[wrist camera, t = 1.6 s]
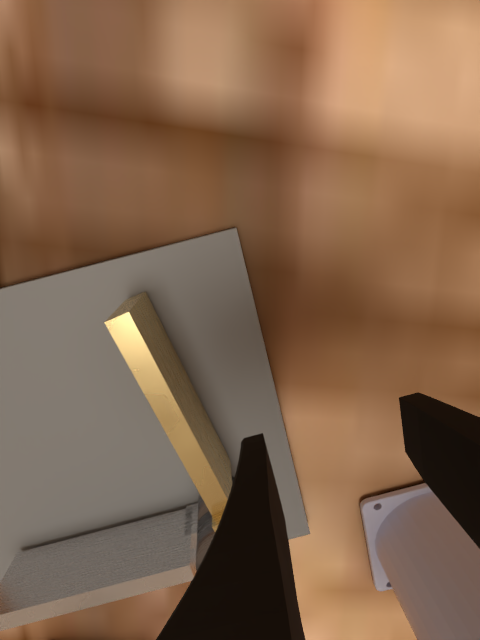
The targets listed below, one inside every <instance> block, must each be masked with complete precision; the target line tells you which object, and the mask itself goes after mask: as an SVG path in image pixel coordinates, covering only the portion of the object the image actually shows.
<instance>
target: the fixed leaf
mask: <svg viewBox="0 0 480 640" xmlns="http://www.w3.org/2000/svg"><path fill="white" fill-rule="evenodd" d="M233 480H234V477H233V476H232V484H233ZM208 511H209V510H208V508H207V506H206V504H205V503H204V501H203V499H202V497H201V495H200V494H199V497H198V503H195V504H191V505H187V506H186V509H182V510H179V511H175V512H171V513H167V514H163V515H159V516H156V517H152V518H148V519H144V520H140V521H137V522H133V523H129V524H125V525H121V526H117V527H114V528H110V529H106V530H102V531H98V532H95V533H91V534H87V535H83V536H79V537H75V538H72V539H68V540H64V541H60V542H56V543H53V544H49V545H45V546H41V547H37V548H33V549H30V550H26V551H22V552H18V553H17V554H16V556H15V557H14V559H13V561H12V563H11V564H10V566H9V568H8V570H7V571H6V573H5V575H4V577H3V578H2V580H1V582H0V631H2V630H6V629H10V628H13V627H17V626H21V625H25V624H29V623H32V622H36V621H40V620H44V619H48V618H51V617H55V616H59V615H63V614H67V613H70V612H74V611H78V610H82V609H86V608H90V607H93V606H97V605H101V604H105V603H109V602H112V601H116V600H120V599H124V598H128V597H131V596H135V595H139V594H143V593H147V592H150V591H154V590H158V589H162V588H166V587H170V586H173V585H177V584H181V583H185V582H189V581H192V580H193V578H194V576H195V572H196V545H197V525H198V522H199V520H200V518H201V517H202V516H203V515H204V514H205V513H207V512H208Z"/></svg>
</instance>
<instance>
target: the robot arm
mask: <svg viewBox="0 0 480 640" xmlns="http://www.w3.org/2000/svg"><path fill="white" fill-rule="evenodd" d="M399 402H400V410H401V419H402V427H403V435H404V444H405V452H406V453H407V455H408V457H409V458H410V460H411V461H412V463H413V465H414V466H415V468H416V469H417V471H418V472H419V474H420V475H421V477H422V478H423V480H424V482H425V483H423V484H419V485H415V486H412V487H408V488H404V489H400V490H396V491H392V492H389V493H385V494H381V495H377V496H373V497H370V498H366V499H364V500H363V501H362V502H361V503H360V509H361V515H362V521H363V526H364V532H365V538H366V543H367V549H368V555H369V560H370V566H371V571H372V577H373V583H374V585H375V588H376V589H377V590H378V591H385V590H389V589H393V590H394V592H395V594H396V596H397V599H398V601H399V603H400V605H401V607H402V609H403V611H404V613H405V615H406V617H407V619H408V621H409V623H410V625H411V628H412V630H413V632H414V634H415V636H416V638H417V640H480V417H477V416H475V415H472V414H470V413H468V412H465V411H463V410H460V409H458V408H456V407H453V406H451V405H448V404H446V403H444V402H441V401H439V400H436V399H434V398H431V397H429V396H426V395H424V394H421V393H414V394H411V395H407V396H403V397H399ZM375 504H376V505H375ZM156 640H305V636H304V632H303V627H302V623H301V618H300V612H299V607H298V602H297V595H296V589H295V582H294V575H293V569H292V562H291V555H290V549H289V542H288V535H287V529H286V522H285V517H284V513H283V508H282V504H281V500H280V496H279V492H278V488H277V484H276V480H275V477H274V473H273V469H272V465H271V462H270V458H269V454H268V450H267V447H266V443H265V439H264V435H263V433H261V434H258V435H254V436H250V437H246V438H244V439H243V440H242V442H241V449H240V455H239V461H238V465H237V469H236V473H235V477H234V480H233V484H232V488H231V491H230V494H229V497H228V500H227V503H226V506H225V509H224V511H223V514H222V517H221V520H220V522H219V525H218V527H217V530H216V532H215V534H214V537H213V539H212V541H211V543H210V546H209V548H208V550H207V552H206V554H205V556H204V558H203V560H202V562H201V564H200V566H199V568H198V570H197V572H196V574H195V576H194V578H193V580H192V581H191V583H190V585H189V587H188V589H187V590H186V592H185V594H184V596H183V597H182V599H181V600H180V602H179V604H178V605H177V607H176V609H175V610H174V612H173V613H172V615H171V617H170V618H169V620H168V622H167V623H166V625H165V627H164V628H163V630H162V631H161V633H160V634H159V636H158V637H157V639H156Z"/></svg>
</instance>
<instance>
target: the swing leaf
mask: <svg viewBox="0 0 480 640" xmlns="http://www.w3.org/2000/svg"><path fill="white" fill-rule="evenodd" d="M104 323H105V325H106V327H107V328H108V330H109V332H110V334H111V336H112V337H113V339H114V341H115V343H116V345H117V346H118V348H119V350H120V352H121V353H122V355H123V357H124V359H125V361H126V362H127V364H128V366H129V368H130V370H131V371H132V373H133V375H134V377H135V379H136V380H137V382H138V384H139V386H140V388H141V389H142V391H143V393H144V395H145V397H146V398H147V400H148V402H149V404H150V406H151V407H152V409H153V411H154V413H155V415H156V416H157V418H158V420H159V422H160V424H161V425H162V427H163V429H164V431H165V433H166V434H167V436H168V438H169V440H170V441H171V443H172V445H173V447H174V449H175V450H176V452H177V454H178V456H179V458H180V459H181V461H182V463H183V465H184V467H185V468H186V470H187V472H188V474H189V476H190V477H191V479H192V481H193V483H194V485H195V486H196V488H197V490H198V492H199V494H200V495H201V497H202V499H203V501H204V503H205V504H206V506H207V508H208V510H209V511H208V512H207V513H205V514H204V515H203V516H202V517H201V518H200V520H199V522H198V525H197V545H196V570H198V568H199V566H200V564H201V562H202V560H203V558H204V556H205V554H206V552H207V550H208V548H209V546H210V543H211V541H212V539H213V537H214V534H215V532H216V530H217V527H218V525H219V522H220V520H221V517H222V514H223V511H224V509H225V506H226V503H227V500H228V497H229V494H230V491H231V488H232V474H231V461H230V459H229V457H228V455H227V453H226V451H225V449H224V447H223V445H222V443H221V441H220V439H219V437H218V435H217V433H216V431H215V429H214V427H213V425H212V423H211V421H210V419H209V417H208V415H207V413H206V411H205V409H204V407H203V405H202V403H201V401H200V399H199V397H198V395H197V393H196V391H195V389H194V387H193V385H192V383H191V381H190V379H189V377H188V375H187V373H186V371H185V369H184V367H183V365H182V363H181V361H180V359H179V357H178V355H177V353H176V351H175V349H174V347H173V345H172V343H171V341H170V339H169V337H168V335H167V333H166V331H165V329H164V327H163V325H162V323H161V321H160V319H159V317H158V315H157V314H156V312H155V310H154V308H153V306H152V304H151V302H150V300H149V298H148V296H147V294H146V292H143V293H141V294H138V295H136V296H133V297H131V298H129V299H126V300H125V301H124V302H123V303H122V304H121V305H120V306H119V307H118V308H117V309H116V310H115V311H114V312H113V314H112V315H111V316H110V317H109V318H108V319H107V320H106V321H105V322H104Z"/></svg>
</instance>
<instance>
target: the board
mask: <svg viewBox="0 0 480 640" xmlns="http://www.w3.org/2000/svg"><path fill="white" fill-rule="evenodd" d="M143 292H146V294H147V296H148V298H149V300H150V302H151V304H152V306H153V308H154V310H155V312H156V314H157V315H158V317H159V319H160V321H161V323H162V325H163V327H164V329H165V331H166V333H167V335H168V337H169V339H170V341H171V343H172V345H173V347H174V349H175V351H176V353H177V355H178V357H179V359H180V361H181V363H182V365H183V367H184V369H185V371H186V373H187V375H188V377H189V379H190V381H191V383H192V385H193V387H194V389H195V391H196V393H197V395H198V397H199V399H200V401H201V403H202V405H203V407H204V409H205V411H206V413H207V415H208V417H209V419H210V421H211V423H212V425H213V427H214V429H215V431H216V433H217V435H218V437H219V439H220V441H221V443H222V445H223V447H224V449H225V451H226V453H227V455H228V457H229V459H230V461H231V474H232V476H233V477H235V473H236V469H237V465H238V461H239V455H240V449H241V442H242V440H243V439H244V438H246V437H250V436H254V435H258V434H261V433H263V435H264V439H265V443H266V447H267V450H268V454H269V458H270V462H271V465H272V469H273V473H274V477H275V480H276V484H277V488H278V492H279V496H280V500H281V504H282V508H283V513H284V517H285V522H286V529H287V535H288V540H289V539H293V538H296V537H300V536H304V535H308V534H310V531H309V527H308V522H307V518H306V514H305V510H304V506H303V502H302V498H301V493H300V489H299V485H298V481H297V477H296V473H295V469H294V464H293V460H292V456H291V452H290V448H289V444H288V440H287V435H286V431H285V427H284V423H283V419H282V415H281V411H280V407H279V402H278V398H277V394H276V390H275V386H274V382H273V378H272V373H271V369H270V365H269V361H268V357H267V353H266V349H265V344H264V340H263V336H262V332H261V328H260V324H259V320H258V315H257V311H256V307H255V303H254V299H253V295H252V291H251V286H250V282H249V278H248V274H247V270H246V266H245V262H244V257H243V253H242V249H241V245H240V241H239V237H238V233H237V228H236V227H234V228H230V229H226V230H223V231H219V232H215V233H211V234H207V235H203V236H199V237H196V238H192V239H188V240H184V241H180V242H176V243H172V244H169V245H165V246H161V247H157V248H153V249H149V250H145V251H142V252H138V253H134V254H130V255H126V256H122V257H118V258H115V259H111V260H107V261H103V262H99V263H95V264H91V265H88V266H84V267H80V268H76V269H72V270H68V271H64V272H61V273H57V274H53V275H49V276H45V277H41V278H37V279H34V280H30V281H26V282H22V283H18V284H14V285H10V286H7V287H3V288H0V582H1V580H2V578H3V577H4V575H5V573H6V571H7V570H8V568H9V566H10V564H11V563H12V561H13V559H14V557H15V556H16V554H17V553H18V552H22V551H26V550H30V549H33V548H37V547H41V546H45V545H49V544H53V543H56V542H60V541H64V540H68V539H72V538H75V537H79V536H83V535H87V534H91V533H95V532H98V531H102V530H106V529H110V528H114V527H117V526H121V525H125V524H129V523H133V522H137V521H140V520H144V519H148V518H152V517H156V516H159V515H163V514H167V513H171V512H175V511H179V510H182V509H186V506H187V505H191V504H195V503H198V497H199V492H198V490H197V488H196V486H195V485H194V483H193V481H192V479H191V477H190V476H189V474H188V472H187V470H186V468H185V467H184V465H183V463H182V461H181V459H180V458H179V456H178V454H177V452H176V450H175V449H174V447H173V445H172V443H171V441H170V440H169V438H168V436H167V434H166V433H165V431H164V429H163V427H162V425H161V424H160V422H159V420H158V418H157V416H156V415H155V413H154V411H153V409H152V407H151V406H150V404H149V402H148V400H147V398H146V397H145V395H144V393H143V391H142V389H141V388H140V386H139V384H138V382H137V380H136V379H135V377H134V375H133V373H132V371H131V370H130V368H129V366H128V364H127V362H126V361H125V359H124V357H123V355H122V353H121V352H120V350H119V348H118V346H117V345H116V343H115V341H114V339H113V337H112V336H111V334H110V332H109V330H108V328H107V327H106V325H105V323H104V322H105V321H106V320H107V319H108V318H109V317H110V316H111V315H112V314H113V312H114V311H115V310H116V309H117V308H118V307H119V306H120V305H121V304H122V303H123V302H124V301H125V300H126V299H129V298H131V297H133V296H136V295H138V294H141V293H143Z"/></svg>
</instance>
